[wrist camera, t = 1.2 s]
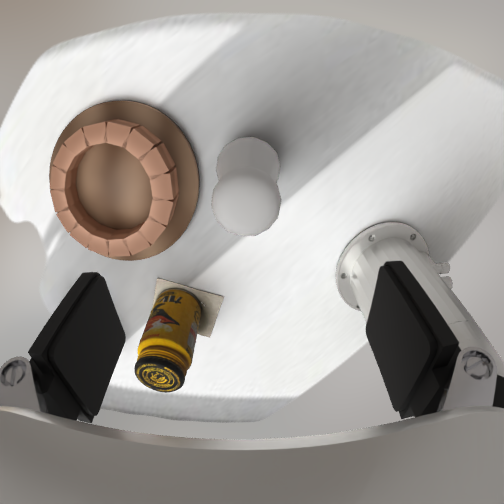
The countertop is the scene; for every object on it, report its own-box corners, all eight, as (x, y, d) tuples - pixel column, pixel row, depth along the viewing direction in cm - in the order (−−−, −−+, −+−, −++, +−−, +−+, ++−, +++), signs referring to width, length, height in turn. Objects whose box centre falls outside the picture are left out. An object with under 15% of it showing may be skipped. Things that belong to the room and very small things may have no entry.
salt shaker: (276, 132, 27) (295, 158, 16) (279, 188, 30) (296, 249, 19) (216, 136, 28) (190, 165, 16) (221, 191, 30) (203, 255, 19)
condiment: (157, 277, 35) (127, 348, 25) (224, 296, 37) (215, 373, 26) (150, 319, 39) (126, 389, 28) (210, 335, 40) (200, 408, 30)
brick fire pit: (191, 87, 25) (184, 86, 22) (207, 253, 34) (203, 270, 31) (43, 120, 25) (25, 125, 22) (74, 258, 34) (62, 273, 31)
